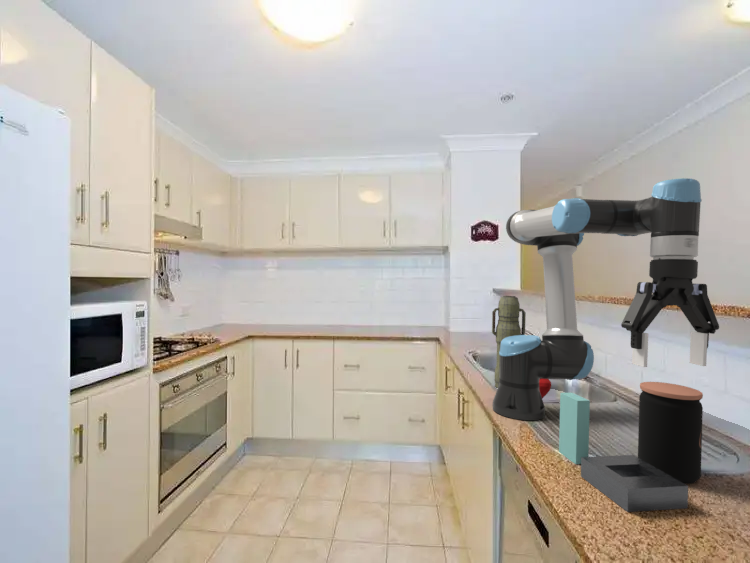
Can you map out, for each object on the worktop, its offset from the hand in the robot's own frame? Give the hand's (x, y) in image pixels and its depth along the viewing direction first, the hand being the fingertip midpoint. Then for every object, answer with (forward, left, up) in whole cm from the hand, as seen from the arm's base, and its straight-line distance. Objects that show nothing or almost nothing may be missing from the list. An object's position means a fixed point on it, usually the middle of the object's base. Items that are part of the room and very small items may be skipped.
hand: (669, 365), depth 75 cm
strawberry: (-55, +7, -24) cm, 60 cm away
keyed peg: (-13, -11, -24) cm, 29 cm away
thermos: (-68, +1, -24) cm, 72 cm away
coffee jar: (-5, +5, -24) cm, 25 cm away
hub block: (+1, -9, -24) cm, 26 cm away
